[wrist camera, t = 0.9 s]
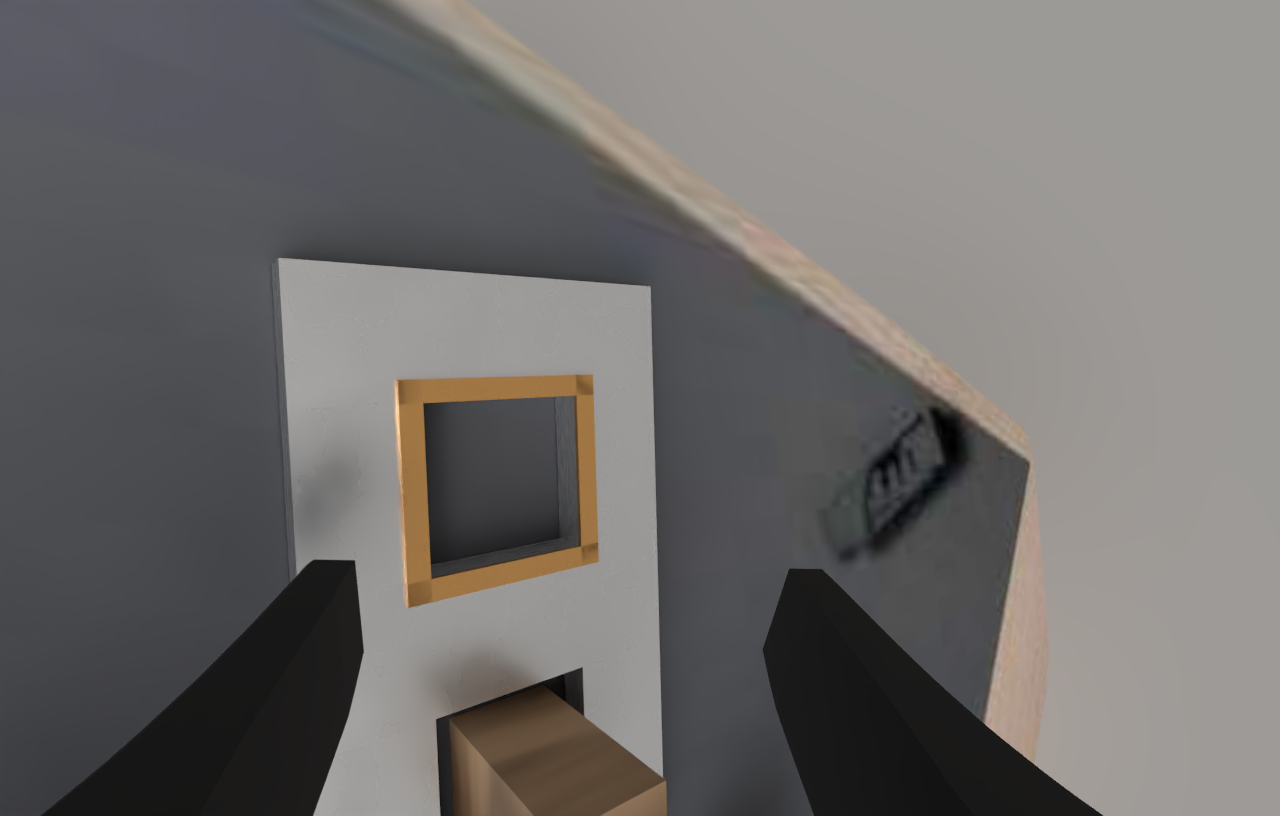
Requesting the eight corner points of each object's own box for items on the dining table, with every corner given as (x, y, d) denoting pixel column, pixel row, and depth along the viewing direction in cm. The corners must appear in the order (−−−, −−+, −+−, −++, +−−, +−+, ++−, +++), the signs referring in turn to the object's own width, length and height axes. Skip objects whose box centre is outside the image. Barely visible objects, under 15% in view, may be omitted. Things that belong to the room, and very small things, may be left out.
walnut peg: (546, 777, 27) (669, 901, 20) (453, 820, 24) (559, 976, 18) (543, 684, 26) (666, 780, 20) (449, 718, 24) (554, 839, 18)
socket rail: (644, 847, 30) (668, 869, 28) (317, 1044, 21) (327, 1088, 20) (629, 290, 28) (653, 286, 27) (271, 265, 20) (279, 256, 19)
